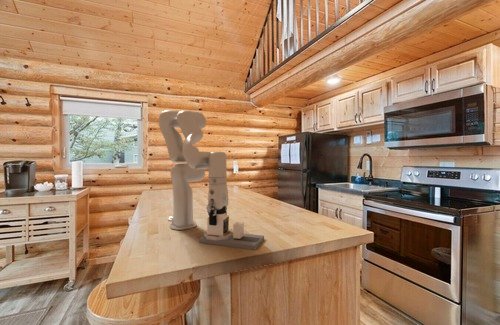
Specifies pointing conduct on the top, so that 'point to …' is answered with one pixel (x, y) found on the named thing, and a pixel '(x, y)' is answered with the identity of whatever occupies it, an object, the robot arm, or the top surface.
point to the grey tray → (233, 240)
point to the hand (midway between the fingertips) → (218, 222)
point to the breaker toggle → (238, 230)
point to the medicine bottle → (219, 223)
